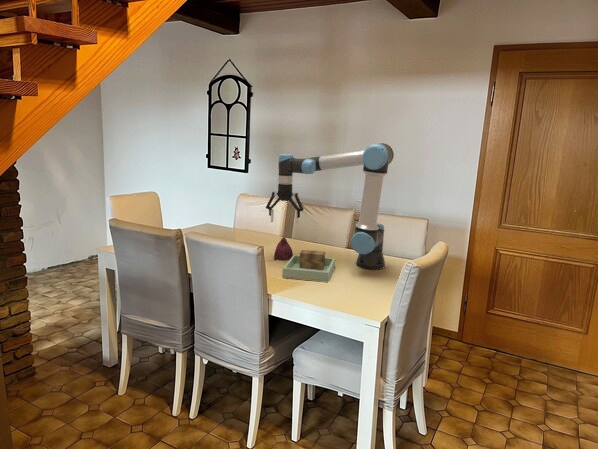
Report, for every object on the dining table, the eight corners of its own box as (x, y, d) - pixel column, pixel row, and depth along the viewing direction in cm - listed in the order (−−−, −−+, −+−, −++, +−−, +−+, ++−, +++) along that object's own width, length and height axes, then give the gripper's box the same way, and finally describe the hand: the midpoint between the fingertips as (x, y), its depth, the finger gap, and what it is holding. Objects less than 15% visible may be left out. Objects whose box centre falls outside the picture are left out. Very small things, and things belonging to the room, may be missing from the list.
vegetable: (289, 268, 248) (292, 244, 241) (271, 263, 250) (273, 240, 242) (294, 258, 257) (297, 235, 250) (276, 254, 259) (279, 231, 252)
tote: (334, 267, 240) (335, 258, 239) (327, 282, 217) (328, 272, 216) (293, 264, 244) (293, 254, 243) (282, 278, 221) (282, 268, 220)
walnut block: (324, 266, 239) (325, 251, 237) (322, 270, 233) (323, 254, 232) (301, 264, 241) (302, 249, 240) (299, 267, 236) (300, 252, 234)
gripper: (309, 183, 244) (308, 222, 249) (264, 181, 249) (263, 219, 254) (307, 185, 237) (305, 225, 242) (260, 182, 242) (259, 222, 246)
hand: (284, 222), depth 248 cm, fingers open, 13 cm apart
